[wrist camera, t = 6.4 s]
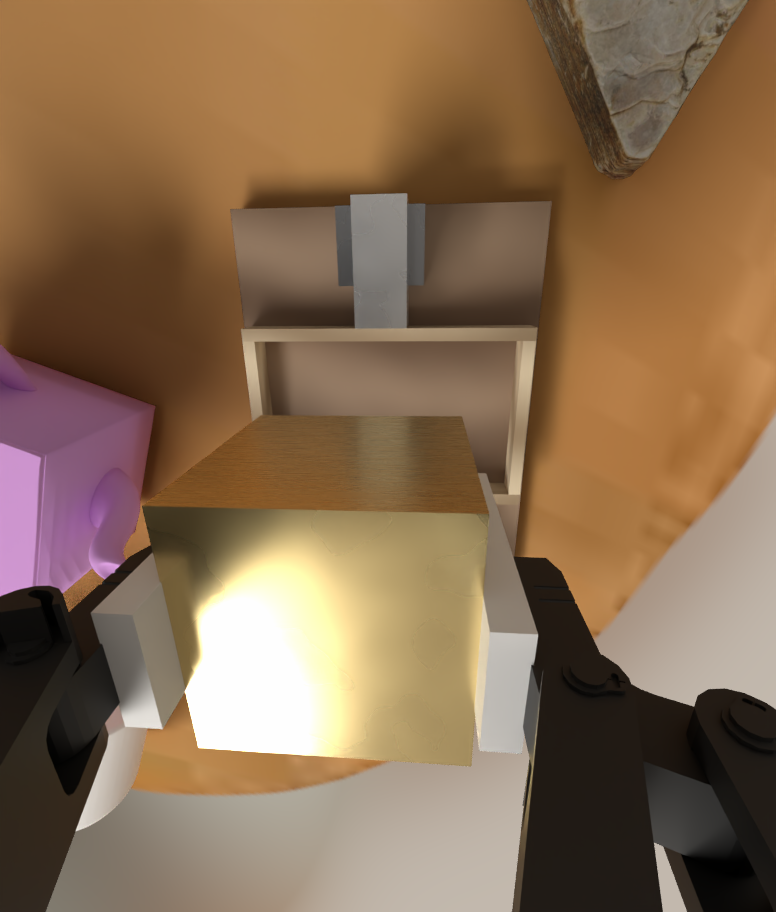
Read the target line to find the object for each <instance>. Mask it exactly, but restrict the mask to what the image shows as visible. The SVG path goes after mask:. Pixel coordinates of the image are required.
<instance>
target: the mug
mask: <svg viewBox="0 0 776 912" xmlns="http://www.w3.org/2000/svg"><path fill="white" fill-rule="evenodd" d="M105 725H106V728H107V731H108V734H109V737H108V744H107V748H106V751H105V753H104V756H103V759H102V761H101V764H100V767H99V769H98V772H97V775H96V777H95V780H94V783H93V786H92V788H91V791H90V794H89V796H88V799H87V802H86V804H85V807H84V810H83V812H82V815H81V818H80V821H79V823H78V826H77V829H76V831H78V830H80V829H83V828H85V827H88V826H90V825H92V824H93V823H95V822H97V821H98V820H100V819H102V818H103V817H104V816H106V815H107V814H108V813H109V812H111V811H112V810H113V809H114V808H115V807H116V806H117V805H118V804H119V803H120V802H121V801H122V800H123V798H124V797H125V796H126V794H127V793H128V792H129V790H130V788H131V787H132V785H133V783H134V781H135V778H136V776H137V773H138V769H139V765H140V761H141V756H142V752H143V747H144V743H145V738H146V734H147V729H148V728H139V727H125V724H124V721H123V717H122V714H121V711H120V708H119V705H118V706H117V707H116V709H115V710H114V712H113V713H112V714H111V716H110V717H109V718H108V720H107V721H106V722H105Z"/></svg>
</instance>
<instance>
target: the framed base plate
mask: <svg viewBox="0 0 776 912" xmlns="http://www.w3.org/2000/svg"><path fill="white" fill-rule="evenodd" d="M551 204H552V201H534V202H495V203H456V204H425V260H424V285H413V286H409V302H408V326H407V328H385V329H355V313H354V286H339V285H338V264H337V243H336V221H335V207H299V208H260V209H230V211H231V219H232V227H233V235H234V244H235V252H236V260H237V268H238V277H239V285H240V293H241V301H242V310H243V318H244V326H245V328H243V329H241V334H242V342H243V350H244V358H245V366H246V374H247V382H248V391H249V399H250V407H251V415H252V422H253V421H254V420H255V419H256V418H258V417H259V416H260V415H313V416H462V418H463V422H464V425H465V429H466V432H467V436H468V440H469V443H470V447H471V450H472V454H473V457H474V461H475V465H476V468H477V472H478V473H486V474H487V477H488V480H489V484H490V487H491V490H492V493H493V496H494V499H495V502H496V505H497V508H498V511H499V515H500V518H501V521H502V524H503V527H504V530H505V533H506V536H507V539H508V542H509V546H510V549H511V552H512V555H513V557H514V554H515V545H516V535H517V526H518V516H519V507H520V497H521V488H522V479H523V469H524V460H525V450H526V441H527V431H528V422H529V412H530V403H531V393H532V384H533V375H534V365H535V356H536V346H537V337H538V327H539V318H540V308H541V299H542V289H543V280H544V271H545V261H546V252H547V242H548V233H549V223H550V214H551Z"/></svg>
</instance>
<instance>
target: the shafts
mask: <svg viewBox="0 0 776 912" xmlns="http://www.w3.org/2000/svg"><path fill="white" fill-rule="evenodd" d="M350 201H351V205H346V206H335V221H336V243H337V264H338V285H339V286H354V313H355V329H385V328H407V326H408V302H409V286H413V285H424V260H425V203H424V204H409V200H408V195H407V193H397V194H361V195H350Z"/></svg>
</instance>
